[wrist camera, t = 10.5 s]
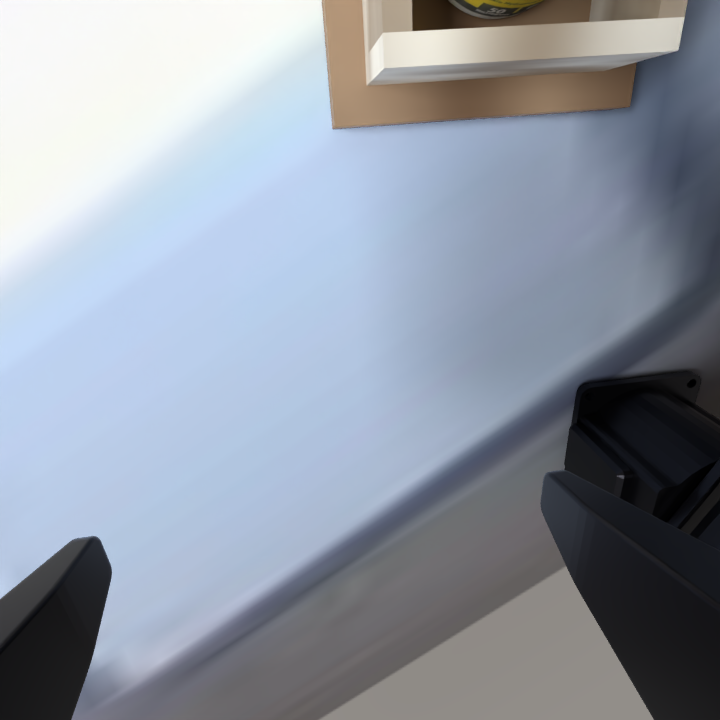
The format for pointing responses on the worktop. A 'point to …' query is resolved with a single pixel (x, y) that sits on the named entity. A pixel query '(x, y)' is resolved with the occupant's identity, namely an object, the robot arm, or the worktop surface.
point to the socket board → (488, 58)
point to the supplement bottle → (494, 7)
